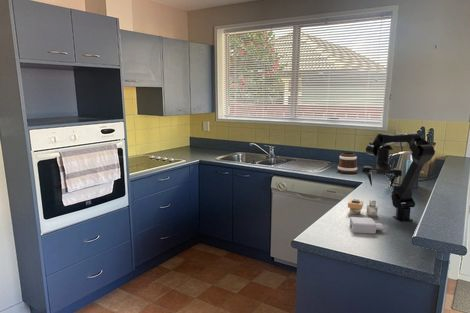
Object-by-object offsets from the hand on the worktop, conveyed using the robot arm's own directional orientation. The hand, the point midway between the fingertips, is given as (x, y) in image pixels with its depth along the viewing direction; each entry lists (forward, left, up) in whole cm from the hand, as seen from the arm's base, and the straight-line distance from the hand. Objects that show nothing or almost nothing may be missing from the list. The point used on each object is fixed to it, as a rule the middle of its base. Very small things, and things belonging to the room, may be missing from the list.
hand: (380, 186), depth 178 cm
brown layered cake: (+90, -23, -12) cm, 94 cm away
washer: (-5, +16, -8) cm, 19 cm away
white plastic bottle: (-27, +20, -12) cm, 36 cm away
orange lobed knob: (-9, +9, -12) cm, 18 cm away
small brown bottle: (-5, +16, -12) cm, 21 cm away
